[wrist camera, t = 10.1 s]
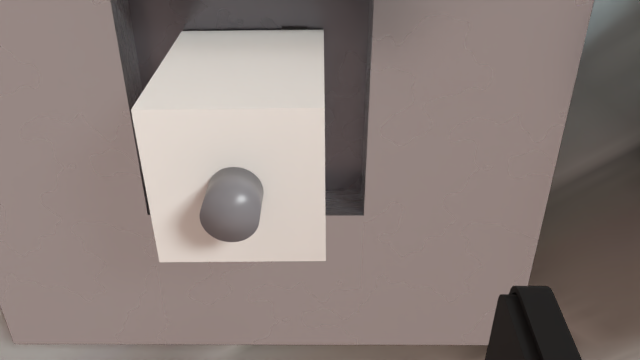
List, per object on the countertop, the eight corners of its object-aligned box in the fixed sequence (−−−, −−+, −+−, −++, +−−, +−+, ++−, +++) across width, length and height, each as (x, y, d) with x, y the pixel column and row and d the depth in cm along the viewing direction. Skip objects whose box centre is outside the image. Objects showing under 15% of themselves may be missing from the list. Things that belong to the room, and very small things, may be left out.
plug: (323, 29, 19) (325, 131, 13) (324, 154, 22) (326, 290, 15) (181, 30, 19) (116, 133, 13) (198, 155, 22) (148, 292, 15)
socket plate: (615, -266, 16) (671, -282, 13) (498, 303, 26) (518, 356, 24) (-142, -268, 16) (-231, -284, 13) (38, 302, 26) (7, 355, 24)
